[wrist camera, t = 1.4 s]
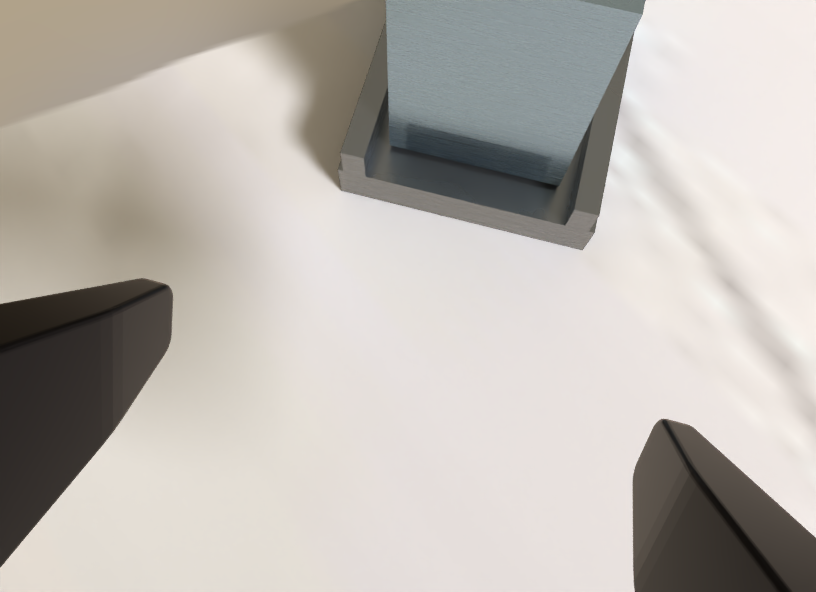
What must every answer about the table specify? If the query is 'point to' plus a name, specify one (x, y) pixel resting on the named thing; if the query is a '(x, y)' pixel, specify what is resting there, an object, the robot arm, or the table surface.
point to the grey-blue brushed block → (502, 78)
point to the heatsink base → (479, 171)
